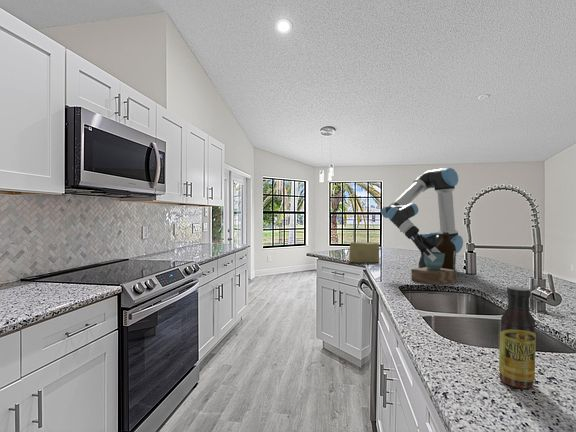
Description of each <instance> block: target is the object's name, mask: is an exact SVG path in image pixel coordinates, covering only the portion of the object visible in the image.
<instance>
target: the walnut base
mask: <svg viewBox="0 0 576 432" xmlns="http://www.w3.org/2000/svg"><path fill="white" fill-rule="evenodd" d="M410 275H411V281H413V282H414V281H415V282H419V283H425V284H430V285H437V286H440V285H445V284H450V283H451V284H452V283H456V282H457V281H458V276H457V275H458V271H457V269H455V270H452V269H445V268H441V269H440V270H430V269H428V268H427V267H424V268H420V267H418V268H412V269H411V274H410Z"/></svg>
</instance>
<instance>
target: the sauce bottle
mask: <svg viewBox="0 0 576 432" xmlns="http://www.w3.org/2000/svg"><path fill="white" fill-rule="evenodd" d="M506 293H507V308H506V310H505V311H504V313H503V315H502V316H501V318H500V329H499V352H498V353H499V354H498V355H499V357H498V358H499V361H498V372H499V379H500V381H501V382H502V383H504V384H505V385H507V386H510V387H513V388H516V389H517V388H518V389H532V388H533V387H534V381H535V379H536V378H535V377H536V351H537V349H536V345H537V344H536V343H537V342H536V339H537V331H536V321H535V318H534V316H533V314H532V313H531V311H530V310H531V309H530V308H531V307H530V298H531V295H532V294H531V289H530V288H527V287H522V286H514V285H513V286H508V287H507V291H506Z"/></svg>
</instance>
